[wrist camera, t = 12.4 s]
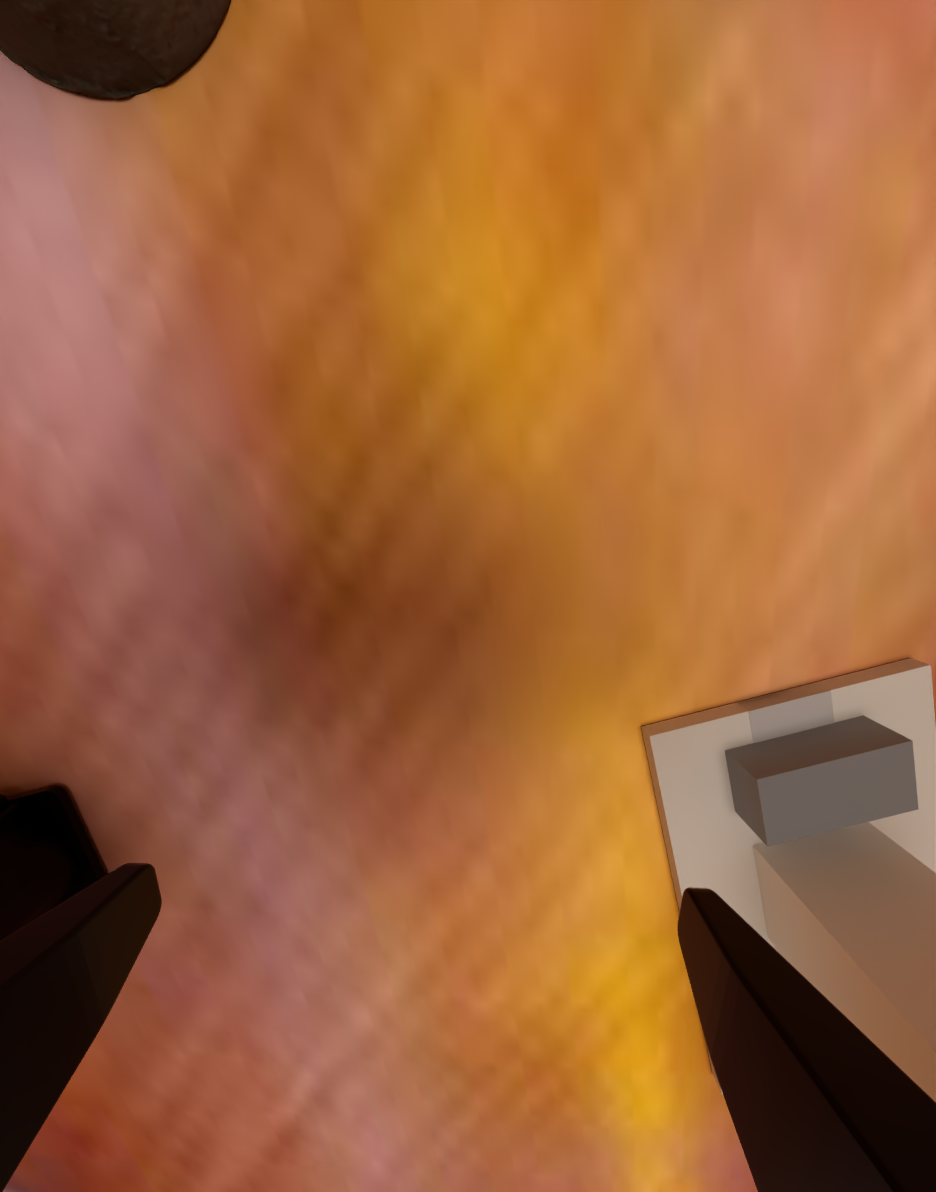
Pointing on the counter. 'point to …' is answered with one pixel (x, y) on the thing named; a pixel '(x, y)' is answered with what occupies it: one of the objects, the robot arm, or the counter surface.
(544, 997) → the counter surface
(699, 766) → the rail plate
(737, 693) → the counter surface
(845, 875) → the block
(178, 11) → the pillar candle
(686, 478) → the counter surface
